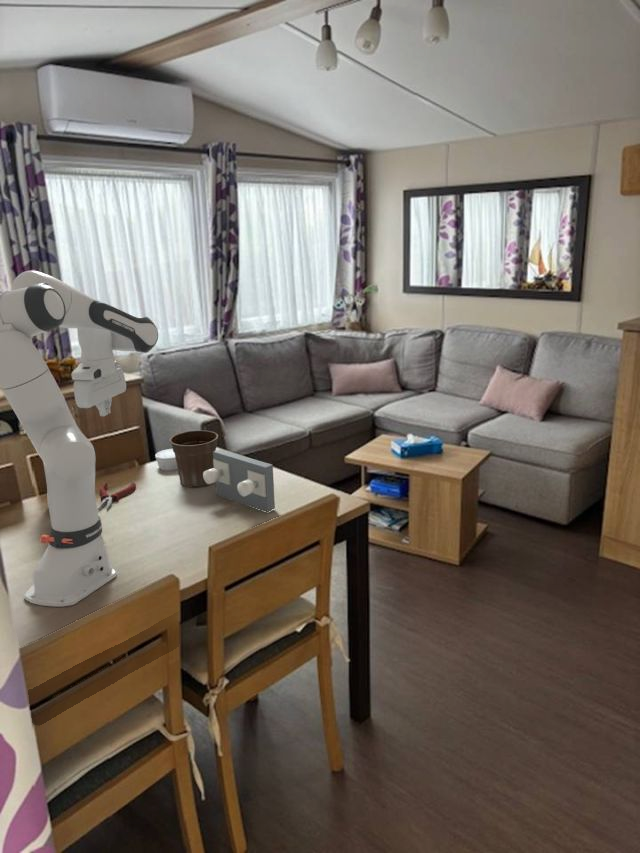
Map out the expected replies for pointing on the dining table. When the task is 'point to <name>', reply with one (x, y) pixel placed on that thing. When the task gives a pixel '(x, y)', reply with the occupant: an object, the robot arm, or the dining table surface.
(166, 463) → the ramekin
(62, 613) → the dining table surface
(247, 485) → the knob right
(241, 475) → the mount
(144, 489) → the dining table surface
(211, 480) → the knob left
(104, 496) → the pliers
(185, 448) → the plant pot
